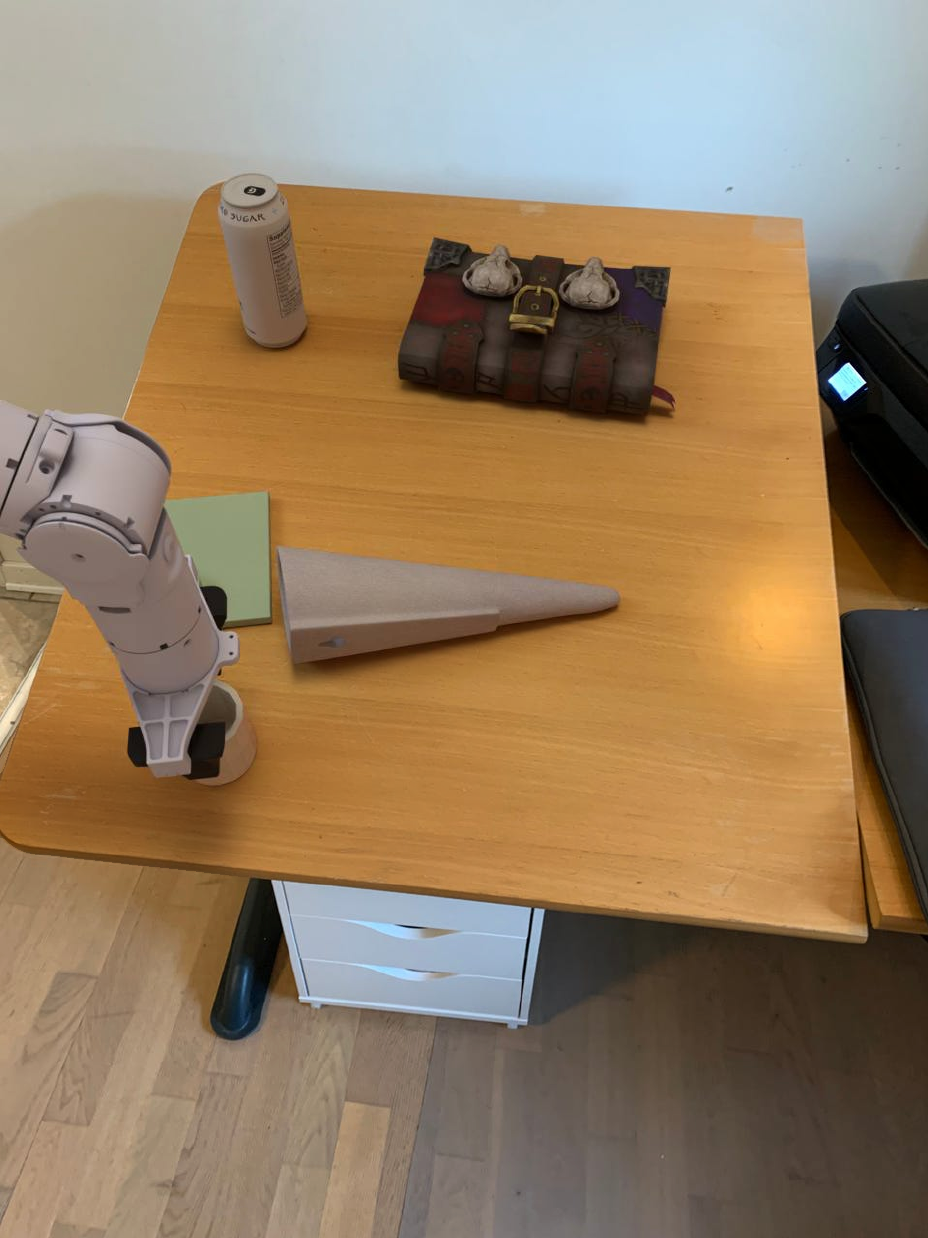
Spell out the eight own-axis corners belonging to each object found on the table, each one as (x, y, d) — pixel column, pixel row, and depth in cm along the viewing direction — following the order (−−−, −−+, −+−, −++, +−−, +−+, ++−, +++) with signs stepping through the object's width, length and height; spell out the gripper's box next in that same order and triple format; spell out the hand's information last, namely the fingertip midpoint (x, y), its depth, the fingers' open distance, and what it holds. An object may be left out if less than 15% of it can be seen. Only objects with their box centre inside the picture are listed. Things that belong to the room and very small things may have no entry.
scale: (130, 641, 72) (121, 623, 70) (141, 509, 79) (133, 489, 77) (272, 626, 73) (267, 609, 71) (270, 497, 80) (265, 477, 78)
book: (389, 389, 88) (384, 326, 82) (433, 273, 97) (432, 208, 91) (671, 435, 85) (688, 373, 79) (688, 310, 94) (704, 246, 88)
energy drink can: (261, 305, 94) (231, 163, 82) (317, 317, 93) (295, 175, 81) (236, 344, 91) (201, 202, 78) (293, 357, 90) (267, 215, 77)
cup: (178, 791, 65) (157, 757, 61) (181, 719, 69) (161, 682, 64) (257, 782, 66) (242, 748, 61) (256, 711, 69) (242, 674, 64)
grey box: (600, 492, 75) (274, 523, 69) (636, 576, 70) (289, 617, 64) (579, 554, 81) (278, 587, 75) (611, 635, 76) (292, 677, 70)
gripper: (220, 717, 48) (265, 815, 60) (224, 504, 56) (263, 626, 68) (81, 733, 48) (153, 828, 59) (105, 515, 56) (164, 636, 67)
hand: (205, 721), depth 63 cm, fingers open, 7 cm apart
